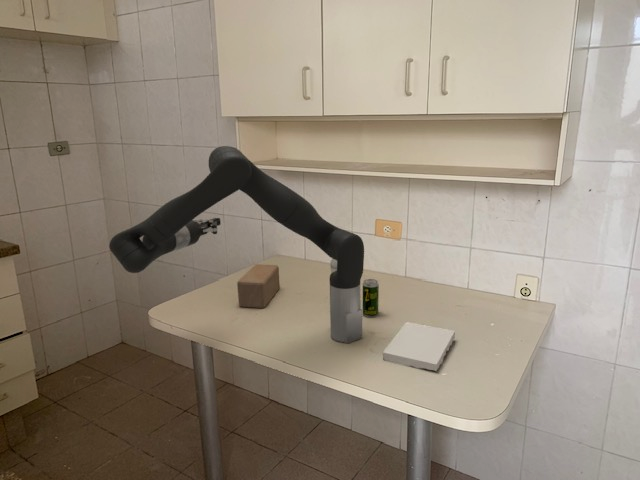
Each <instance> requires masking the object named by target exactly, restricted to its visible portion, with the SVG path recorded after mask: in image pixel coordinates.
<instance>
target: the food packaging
mask: <svg viewBox="0 0 640 480" xmlns="http://www.w3.org/2000/svg"><path fill="white" fill-rule="evenodd" d="M455 335H456V331H455V330H451V329H446V328H441V327H436V326H430V325H424V324H420V323H415V322H408V321H406V322H405V323H404V324H403V326H402V327H401V328H400V329H399V331H398V332H397V334H396V335H395V336H394V338H393V339H392V340H391V341H390V343H389V344H388V345H387V346H386V347H385V349H384V350H383V352H382V359H383V360H384V361H386V362H390V363H394V364H399V365H402V366H406V367H413V368H415V369H422V370H423V369H424V370H425V369H426V370H428V371H435V372H437V370H439V369H440V366H441V365H442V364H443V362H444V358H445V356H446V353H447V352H449V350H450V347H452V345H453V342H454V341H455V339H456V336H455Z"/></svg>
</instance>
